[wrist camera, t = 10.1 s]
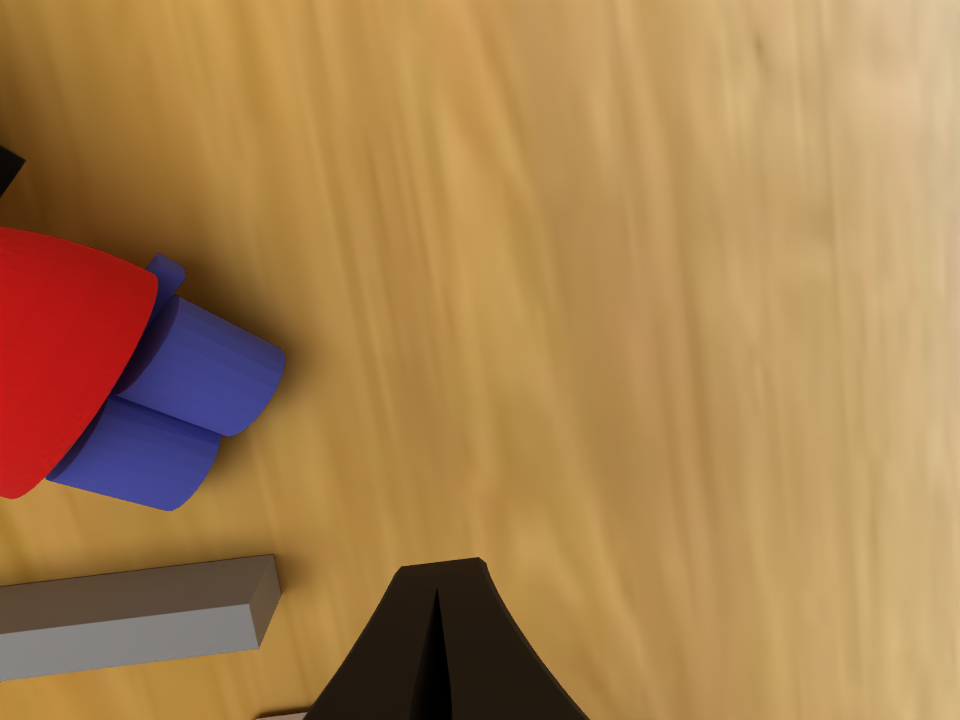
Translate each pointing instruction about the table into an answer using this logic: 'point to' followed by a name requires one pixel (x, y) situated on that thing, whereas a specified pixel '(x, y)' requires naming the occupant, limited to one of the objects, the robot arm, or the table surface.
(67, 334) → the toy
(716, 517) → the table surface
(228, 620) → the bay
